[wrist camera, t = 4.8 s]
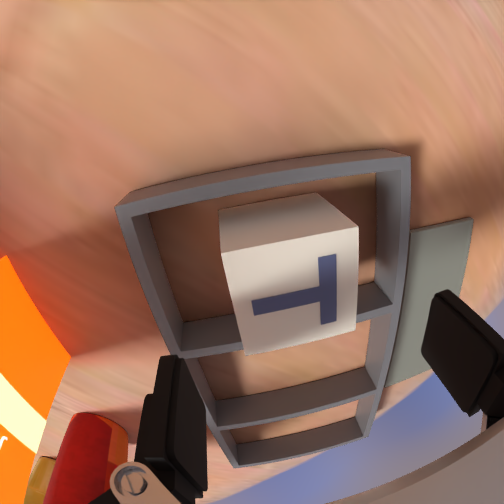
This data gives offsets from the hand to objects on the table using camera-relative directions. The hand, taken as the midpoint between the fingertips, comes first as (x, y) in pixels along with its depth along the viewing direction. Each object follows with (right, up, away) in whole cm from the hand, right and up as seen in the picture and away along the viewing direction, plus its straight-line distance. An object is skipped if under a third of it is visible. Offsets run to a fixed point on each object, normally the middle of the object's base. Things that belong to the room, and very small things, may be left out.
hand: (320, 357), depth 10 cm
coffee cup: (-17, -13, +12) cm, 25 cm away
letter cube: (-1, +4, +6) cm, 7 cm away
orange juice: (-20, -1, +6) cm, 21 cm away
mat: (+11, -1, +10) cm, 15 cm away
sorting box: (0, -3, +10) cm, 10 cm away
